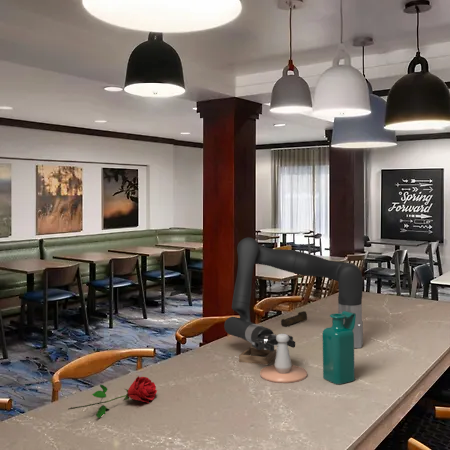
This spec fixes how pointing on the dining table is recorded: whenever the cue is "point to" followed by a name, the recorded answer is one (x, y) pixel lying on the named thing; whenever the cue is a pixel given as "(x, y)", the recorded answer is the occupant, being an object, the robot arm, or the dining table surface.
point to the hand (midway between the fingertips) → (284, 346)
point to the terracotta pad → (291, 377)
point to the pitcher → (339, 349)
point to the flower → (129, 393)
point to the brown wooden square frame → (257, 359)
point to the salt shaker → (282, 354)
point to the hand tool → (294, 319)
